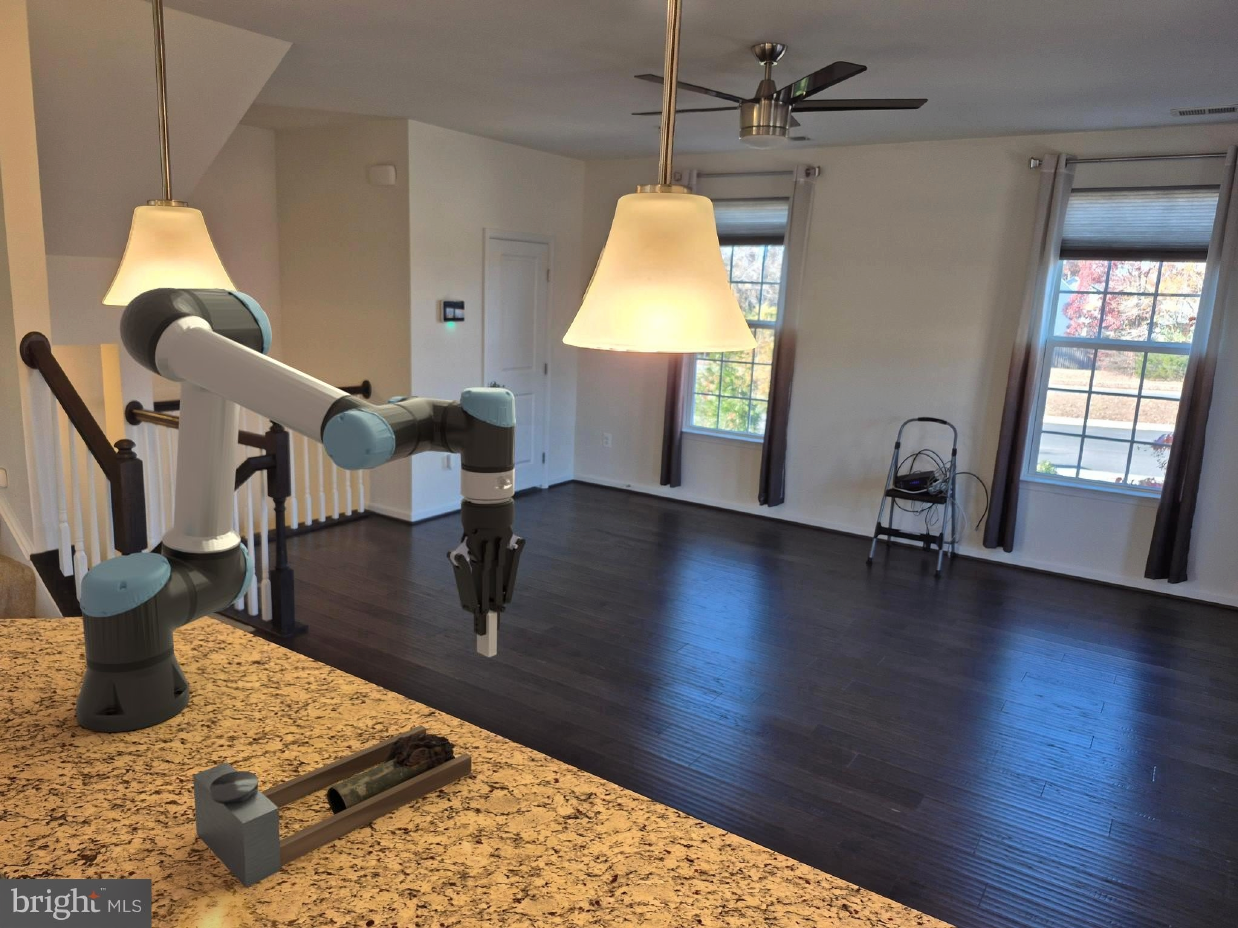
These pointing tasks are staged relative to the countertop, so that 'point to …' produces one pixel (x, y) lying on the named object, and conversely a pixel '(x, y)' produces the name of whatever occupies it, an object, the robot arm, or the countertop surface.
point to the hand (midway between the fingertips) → (486, 652)
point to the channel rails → (365, 810)
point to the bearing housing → (237, 822)
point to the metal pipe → (392, 770)
